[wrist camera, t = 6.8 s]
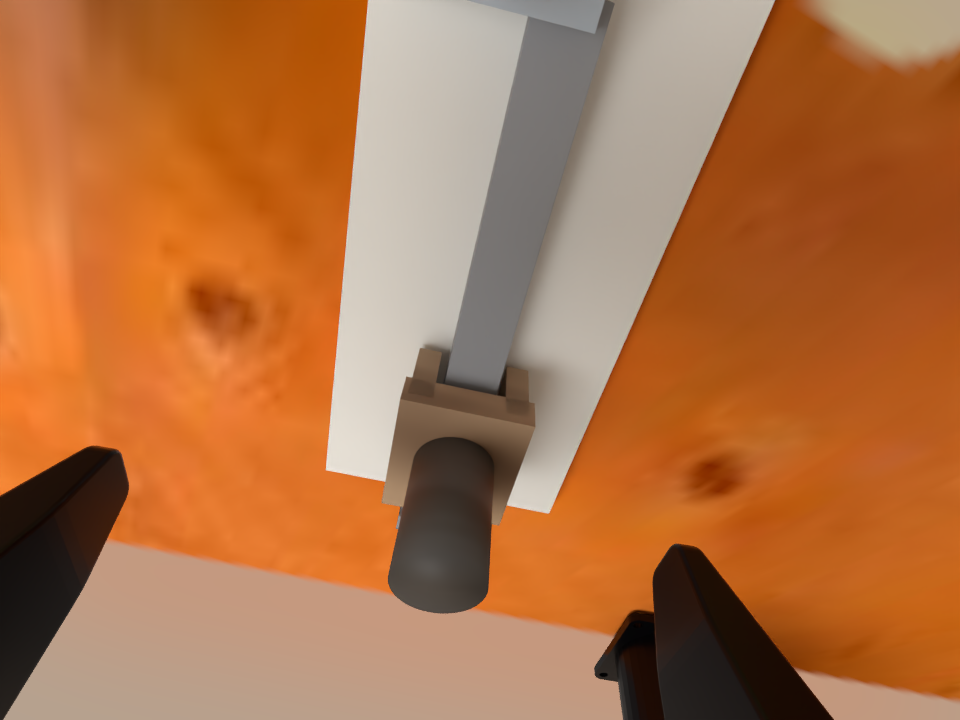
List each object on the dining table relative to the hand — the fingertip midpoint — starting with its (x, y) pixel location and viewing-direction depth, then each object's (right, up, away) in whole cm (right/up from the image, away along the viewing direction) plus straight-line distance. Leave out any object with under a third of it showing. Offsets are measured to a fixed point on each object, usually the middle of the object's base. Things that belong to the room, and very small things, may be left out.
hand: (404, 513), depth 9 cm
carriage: (+1, +1, +13) cm, 13 cm away
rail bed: (+2, +6, +10) cm, 12 cm away
